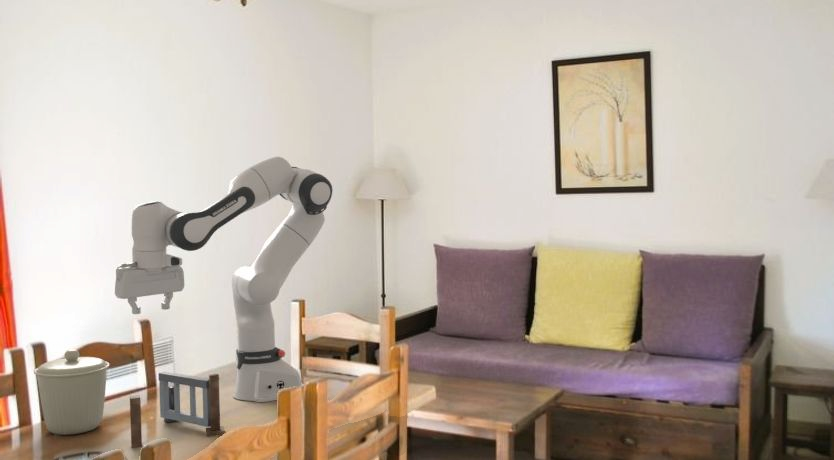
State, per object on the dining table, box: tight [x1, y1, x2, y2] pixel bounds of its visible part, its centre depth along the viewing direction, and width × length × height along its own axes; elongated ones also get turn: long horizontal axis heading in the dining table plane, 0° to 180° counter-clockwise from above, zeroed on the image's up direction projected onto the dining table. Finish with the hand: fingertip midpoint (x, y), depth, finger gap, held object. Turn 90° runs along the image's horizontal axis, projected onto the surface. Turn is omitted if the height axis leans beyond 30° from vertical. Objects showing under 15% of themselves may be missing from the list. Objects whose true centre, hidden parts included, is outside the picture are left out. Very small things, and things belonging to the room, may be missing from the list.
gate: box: [158, 371, 210, 428], centre depth 207 cm, size 18×2×12 cm, turn 58°
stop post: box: [163, 385, 180, 423], centre depth 214 cm, size 5×5×9 cm
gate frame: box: [129, 373, 226, 448], centre depth 197 cm, size 22×6×15 cm, turn 110°
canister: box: [33, 348, 111, 436], centre depth 206 cm, size 18×18×21 cm
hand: (151, 311), depth 216 cm, fingers open, 8 cm apart
